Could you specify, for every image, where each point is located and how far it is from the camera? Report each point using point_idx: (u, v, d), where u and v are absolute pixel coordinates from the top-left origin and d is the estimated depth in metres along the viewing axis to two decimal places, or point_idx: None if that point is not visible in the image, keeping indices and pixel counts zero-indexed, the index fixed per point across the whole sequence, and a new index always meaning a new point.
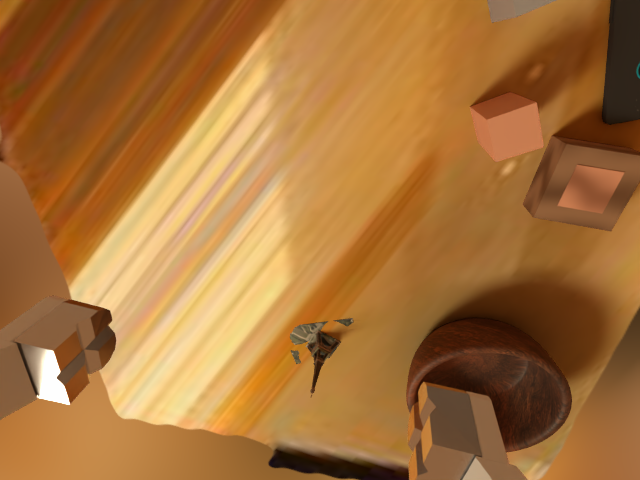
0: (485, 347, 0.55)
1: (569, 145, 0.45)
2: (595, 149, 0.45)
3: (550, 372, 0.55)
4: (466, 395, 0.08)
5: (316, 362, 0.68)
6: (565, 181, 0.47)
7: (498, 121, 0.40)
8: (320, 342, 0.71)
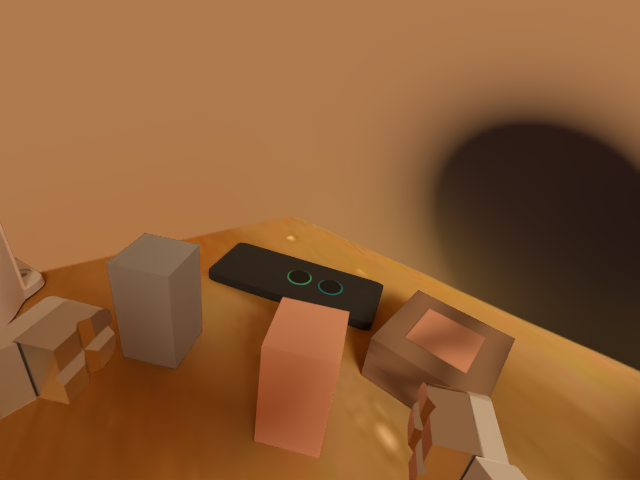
0: None
1: (374, 336, 0.33)
2: (390, 319, 0.35)
3: None
4: (466, 395, 0.08)
5: None
6: (427, 354, 0.31)
7: (275, 335, 0.24)
8: None
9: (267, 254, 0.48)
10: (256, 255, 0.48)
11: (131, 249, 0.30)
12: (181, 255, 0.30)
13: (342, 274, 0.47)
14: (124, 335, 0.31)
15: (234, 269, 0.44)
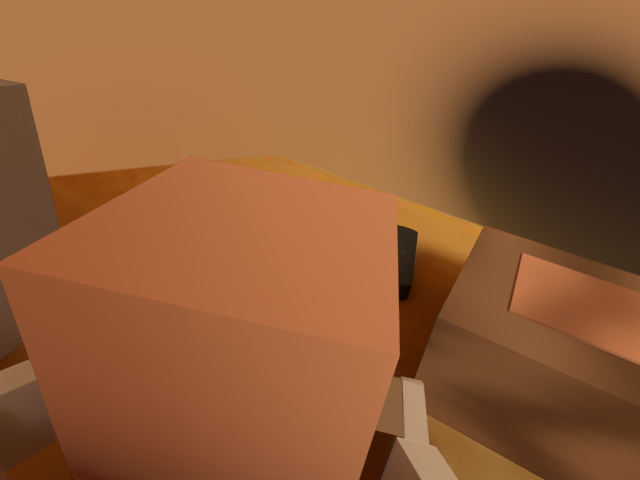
0: None
1: (443, 312, 0.14)
2: (460, 276, 0.16)
3: None
4: (399, 380, 0.08)
5: None
6: (578, 345, 0.13)
7: (101, 233, 0.05)
8: None
9: None
10: None
11: None
12: None
13: None
14: None
15: None
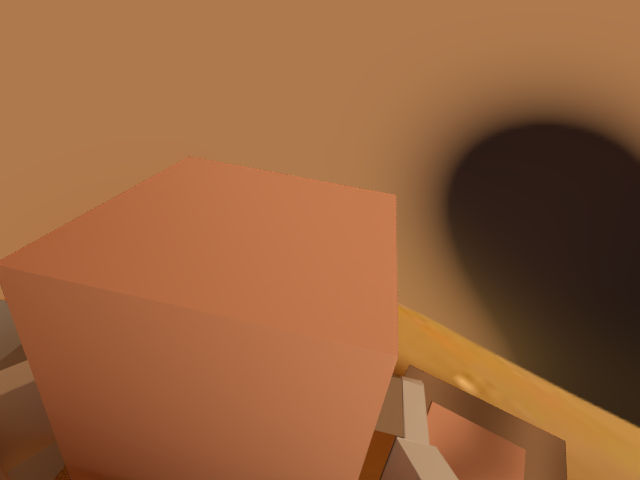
0: None
1: None
2: None
3: None
4: (399, 380, 0.08)
5: None
6: None
7: (99, 233, 0.05)
8: None
9: None
10: None
11: None
12: (14, 339, 0.17)
13: None
14: None
15: None
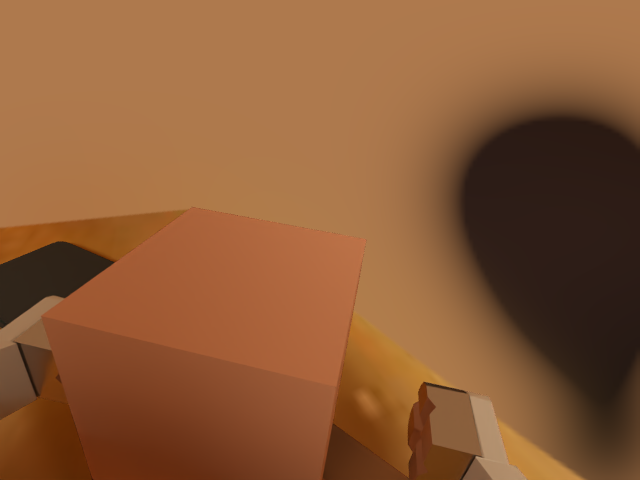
0: None
1: None
2: None
3: None
4: (466, 395, 0.08)
5: None
6: None
7: (118, 286, 0.07)
8: None
9: (87, 262, 0.30)
10: (66, 262, 0.29)
11: None
12: None
13: None
14: None
15: (2, 285, 0.26)
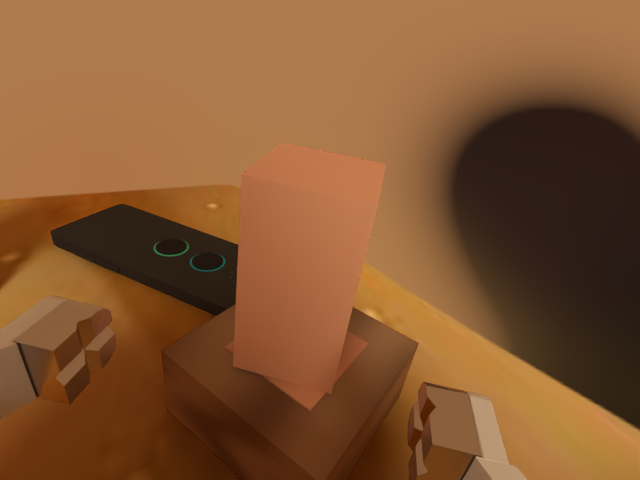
0: None
1: (169, 347, 0.19)
2: (216, 318, 0.21)
3: None
4: (465, 395, 0.08)
5: None
6: (252, 377, 0.18)
7: (267, 169, 0.14)
8: None
9: (146, 219, 0.37)
10: (130, 219, 0.37)
11: None
12: None
13: (235, 247, 0.35)
14: None
15: (86, 232, 0.33)
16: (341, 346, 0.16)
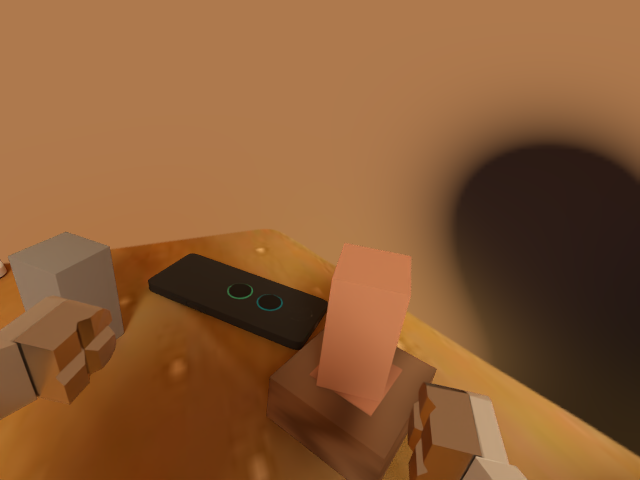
0: None
1: (274, 374, 0.29)
2: (298, 353, 0.31)
3: None
4: (466, 395, 0.08)
5: None
6: (330, 394, 0.28)
7: (344, 271, 0.24)
8: None
9: (214, 266, 0.47)
10: (203, 267, 0.47)
11: (41, 245, 0.31)
12: (84, 255, 0.31)
13: (287, 289, 0.45)
14: None
15: (174, 280, 0.44)
16: (388, 372, 0.26)
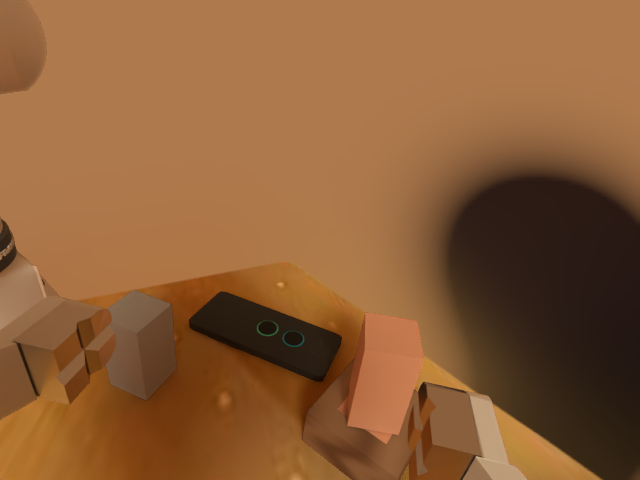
0: None
1: (310, 410, 0.37)
2: (327, 390, 0.39)
3: None
4: (466, 395, 0.08)
5: None
6: None
7: (371, 341, 0.32)
8: None
9: (243, 304, 0.55)
10: (233, 305, 0.54)
11: (118, 305, 0.39)
12: (154, 313, 0.38)
13: (306, 325, 0.53)
14: (110, 369, 0.40)
15: (211, 319, 0.51)
16: (405, 413, 0.34)
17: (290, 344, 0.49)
